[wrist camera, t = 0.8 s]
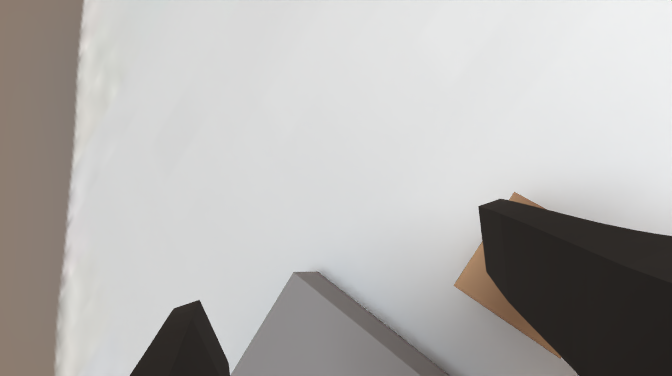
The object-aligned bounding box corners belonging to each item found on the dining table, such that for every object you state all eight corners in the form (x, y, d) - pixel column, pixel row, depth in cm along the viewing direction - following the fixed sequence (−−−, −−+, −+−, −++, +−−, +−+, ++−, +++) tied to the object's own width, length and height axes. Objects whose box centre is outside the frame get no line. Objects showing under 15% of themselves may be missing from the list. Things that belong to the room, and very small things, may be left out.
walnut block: (606, 258, 21) (630, 255, 16) (554, 336, 22) (560, 358, 16) (518, 209, 23) (514, 191, 18) (472, 281, 24) (453, 285, 18)
